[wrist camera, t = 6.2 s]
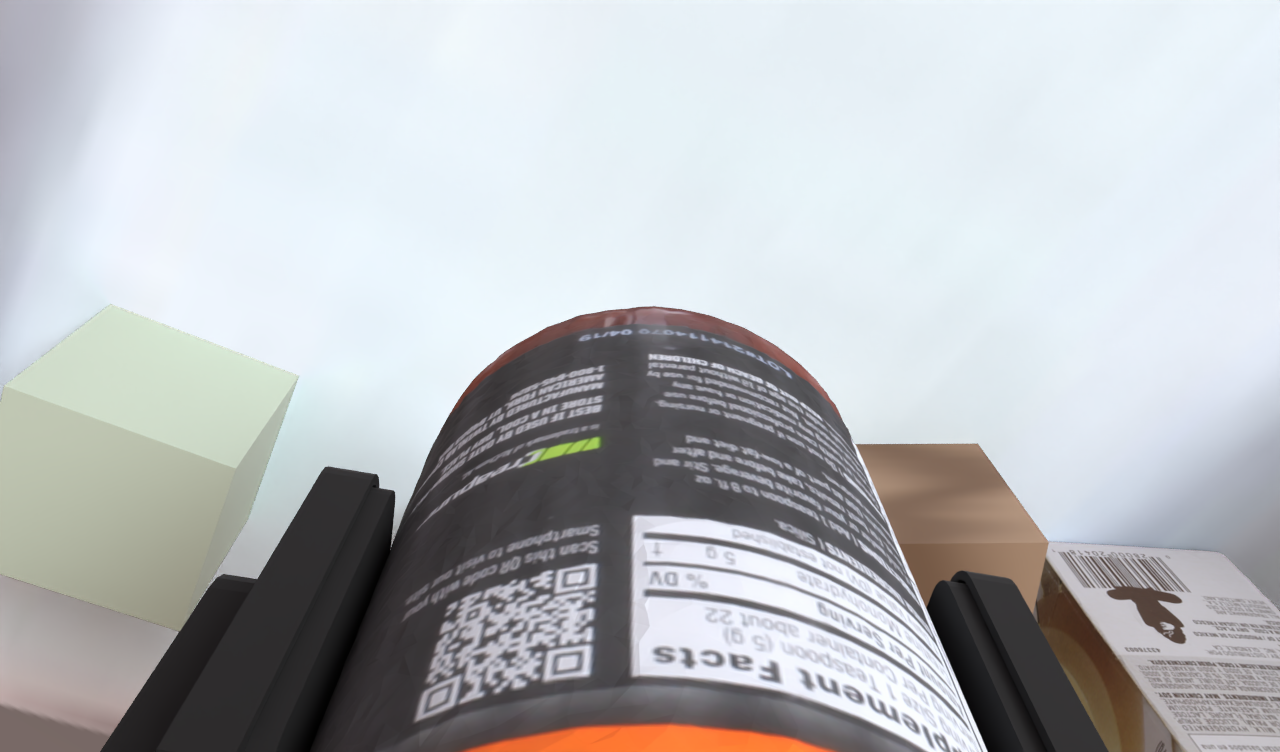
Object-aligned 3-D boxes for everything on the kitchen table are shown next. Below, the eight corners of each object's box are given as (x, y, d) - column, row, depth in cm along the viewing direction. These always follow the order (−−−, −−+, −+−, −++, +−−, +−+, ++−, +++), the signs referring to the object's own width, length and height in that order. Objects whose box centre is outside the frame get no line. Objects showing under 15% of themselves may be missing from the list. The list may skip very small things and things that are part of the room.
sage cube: (299, 374, 26) (236, 468, 22) (248, 517, 28) (180, 631, 24) (112, 302, 25) (4, 385, 21) (71, 456, 27) (-36, 563, 23)
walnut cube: (976, 442, 28) (1048, 542, 23) (951, 584, 30) (1013, 702, 26) (803, 443, 28) (842, 544, 23) (790, 586, 30) (823, 705, 25)
